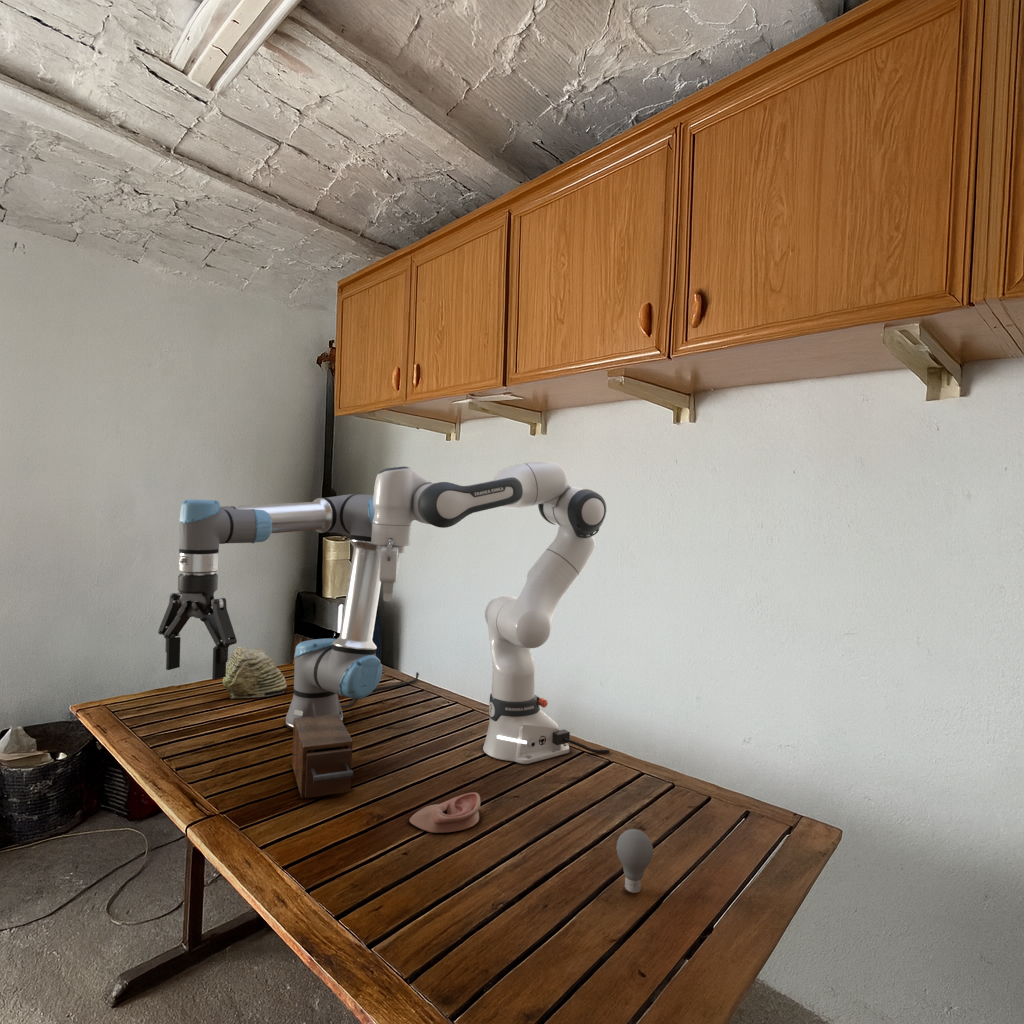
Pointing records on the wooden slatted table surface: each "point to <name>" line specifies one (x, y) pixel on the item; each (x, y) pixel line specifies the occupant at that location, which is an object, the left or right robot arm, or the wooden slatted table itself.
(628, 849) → the light bulb
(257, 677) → the fossil
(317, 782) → the drawer
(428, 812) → the anatomical model
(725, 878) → the wooden slatted table surface
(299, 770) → the brown box
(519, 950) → the wooden slatted table surface
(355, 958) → the wooden slatted table surface
